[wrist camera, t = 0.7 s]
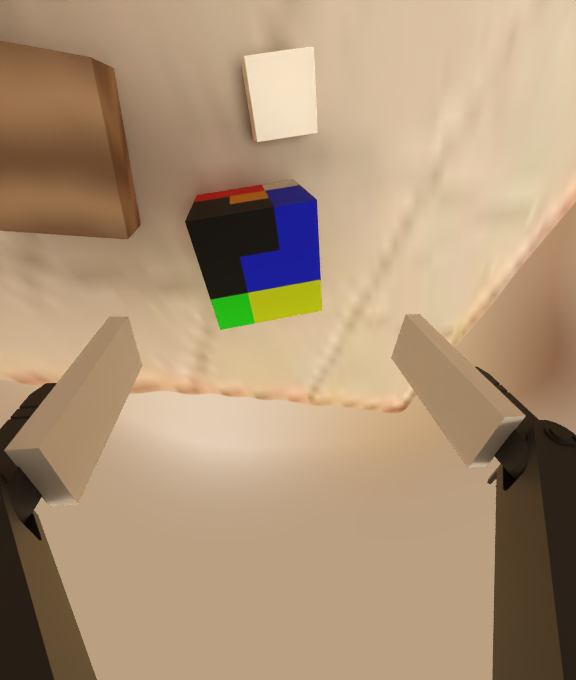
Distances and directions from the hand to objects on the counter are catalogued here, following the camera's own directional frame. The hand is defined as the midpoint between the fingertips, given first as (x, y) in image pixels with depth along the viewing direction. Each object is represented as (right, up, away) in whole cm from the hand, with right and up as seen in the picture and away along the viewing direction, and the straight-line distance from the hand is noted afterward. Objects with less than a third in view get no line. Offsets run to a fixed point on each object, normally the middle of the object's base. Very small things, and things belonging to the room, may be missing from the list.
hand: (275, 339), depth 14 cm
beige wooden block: (0, +21, +11) cm, 24 cm away
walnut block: (-20, +17, +11) cm, 28 cm away
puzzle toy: (-3, +12, +18) cm, 22 cm away
